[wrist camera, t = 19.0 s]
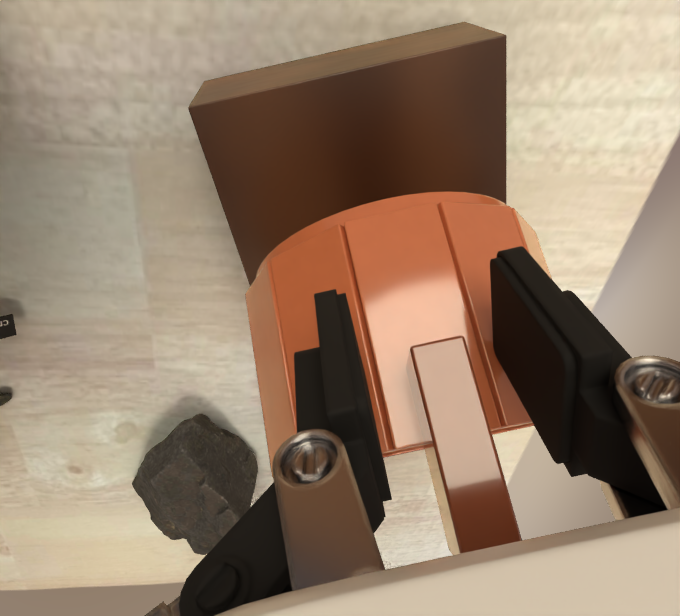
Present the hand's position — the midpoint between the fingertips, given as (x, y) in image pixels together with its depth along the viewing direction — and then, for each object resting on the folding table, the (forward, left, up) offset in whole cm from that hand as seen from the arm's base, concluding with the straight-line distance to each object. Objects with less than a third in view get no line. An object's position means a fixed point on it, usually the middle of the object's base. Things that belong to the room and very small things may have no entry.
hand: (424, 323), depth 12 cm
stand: (0, -1, -15) cm, 15 cm away
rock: (-15, -20, -16) cm, 30 cm away
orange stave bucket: (0, -1, -6) cm, 7 cm away
